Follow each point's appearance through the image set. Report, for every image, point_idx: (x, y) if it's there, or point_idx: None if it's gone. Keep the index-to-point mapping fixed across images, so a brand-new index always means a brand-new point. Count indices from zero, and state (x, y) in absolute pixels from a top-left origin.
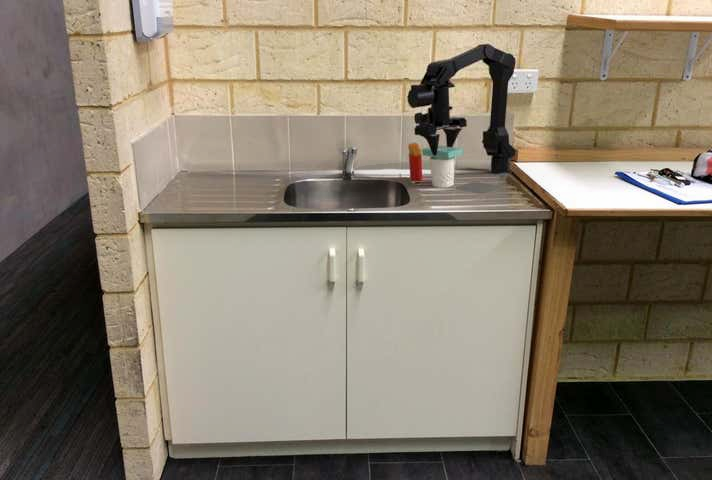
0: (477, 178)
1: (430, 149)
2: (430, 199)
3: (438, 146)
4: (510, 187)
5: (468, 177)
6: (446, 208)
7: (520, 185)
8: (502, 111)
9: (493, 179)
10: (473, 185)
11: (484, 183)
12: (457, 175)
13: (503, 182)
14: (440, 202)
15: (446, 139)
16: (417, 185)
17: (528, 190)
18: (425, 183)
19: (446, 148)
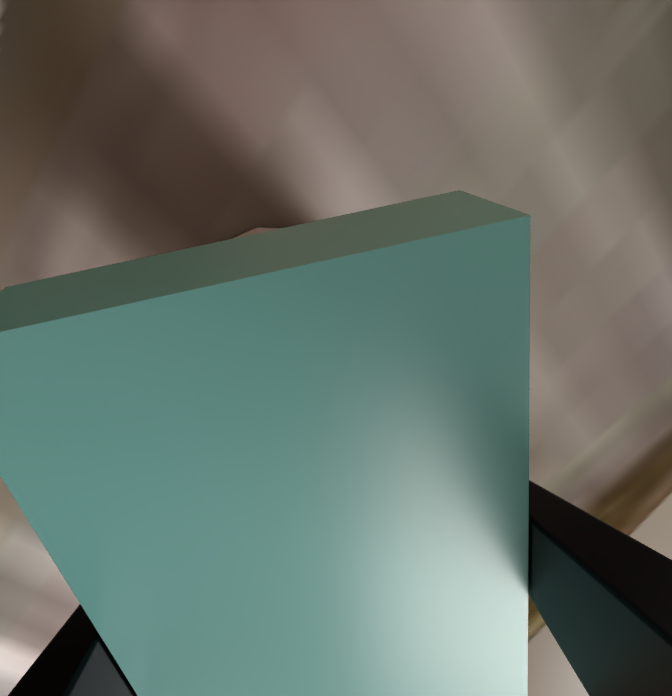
0: (633, 277)
1: (104, 534)
2: (11, 513)
3: (461, 382)
4: None
5: (632, 195)
6: (15, 685)
7: None
8: None
9: (651, 377)
10: None
11: None
12: (656, 43)
13: (612, 468)
14: (41, 593)
15: (662, 644)
16: (127, 48)
17: (535, 634)
18: (243, 47)
19: (395, 641)
